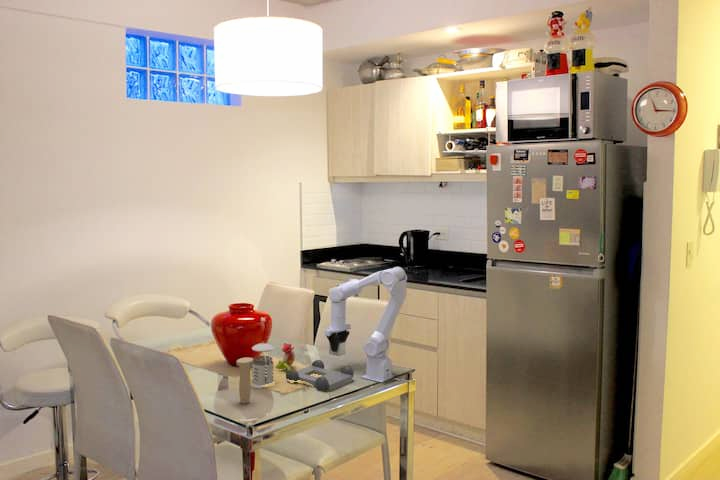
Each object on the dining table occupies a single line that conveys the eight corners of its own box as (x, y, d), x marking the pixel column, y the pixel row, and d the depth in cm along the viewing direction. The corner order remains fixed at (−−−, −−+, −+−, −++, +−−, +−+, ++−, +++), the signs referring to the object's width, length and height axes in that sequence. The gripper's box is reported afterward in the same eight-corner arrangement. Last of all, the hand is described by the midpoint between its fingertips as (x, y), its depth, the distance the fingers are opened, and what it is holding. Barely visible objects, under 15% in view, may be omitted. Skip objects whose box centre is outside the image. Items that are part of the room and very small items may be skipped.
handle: (256, 400, 245) (256, 358, 243) (245, 406, 239) (245, 363, 238) (244, 398, 247) (244, 356, 245) (233, 404, 241) (233, 361, 240)
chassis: (354, 380, 269) (354, 368, 268) (326, 392, 255) (327, 379, 254) (313, 370, 280) (313, 358, 280) (284, 381, 266) (284, 368, 266)
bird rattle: (282, 372, 284) (272, 369, 276) (287, 344, 287) (278, 341, 279) (296, 374, 282) (286, 371, 274) (301, 346, 285) (292, 343, 277)
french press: (271, 378, 270) (271, 314, 267) (281, 387, 259) (281, 321, 256) (246, 381, 266) (246, 316, 263) (255, 390, 255) (255, 323, 252)
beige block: (345, 354, 281) (345, 341, 280) (339, 356, 278) (339, 343, 277) (335, 351, 284) (335, 339, 283) (329, 354, 281) (329, 341, 280)
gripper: (341, 312, 287) (340, 344, 289) (318, 318, 275) (318, 352, 277) (355, 314, 283) (354, 347, 285) (333, 321, 271) (332, 355, 273)
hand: (337, 350), depth 281 cm, fingers closed on beige block, 4 cm apart
